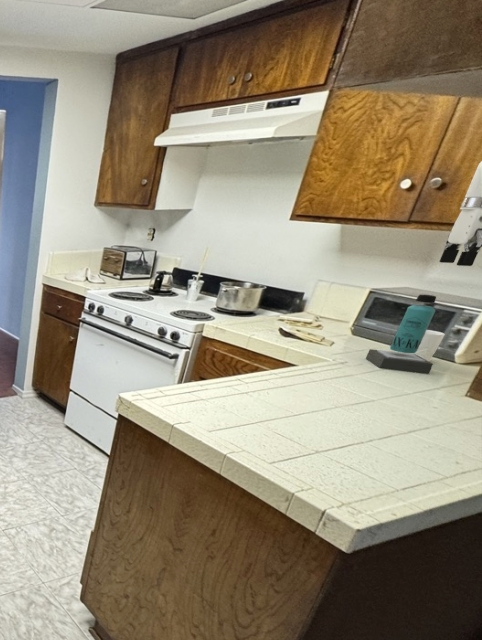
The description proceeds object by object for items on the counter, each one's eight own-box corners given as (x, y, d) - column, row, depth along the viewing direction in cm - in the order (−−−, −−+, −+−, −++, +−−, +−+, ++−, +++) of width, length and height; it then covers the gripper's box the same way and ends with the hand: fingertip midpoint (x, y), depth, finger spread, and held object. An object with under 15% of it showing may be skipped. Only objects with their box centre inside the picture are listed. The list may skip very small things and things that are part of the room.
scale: (411, 363, 160) (415, 354, 158) (428, 374, 150) (433, 363, 148) (365, 358, 165) (369, 349, 163) (379, 368, 155) (383, 358, 153)
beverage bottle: (385, 351, 160) (411, 292, 153) (413, 354, 156) (440, 294, 149) (388, 355, 155) (414, 294, 148) (416, 359, 151) (444, 297, 144)
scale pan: (410, 357, 158) (412, 353, 158) (423, 365, 151) (425, 360, 150) (375, 354, 162) (377, 349, 161) (386, 361, 154) (388, 356, 154)
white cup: (417, 356, 168) (429, 329, 164) (438, 363, 161) (452, 335, 157) (393, 355, 169) (405, 328, 165) (413, 362, 161) (426, 334, 158)
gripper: (518, 204, 129) (489, 267, 135) (481, 204, 143) (456, 262, 149) (480, 203, 132) (453, 266, 138) (447, 204, 146) (424, 260, 152)
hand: (454, 264), depth 144 cm, fingers open, 9 cm apart
